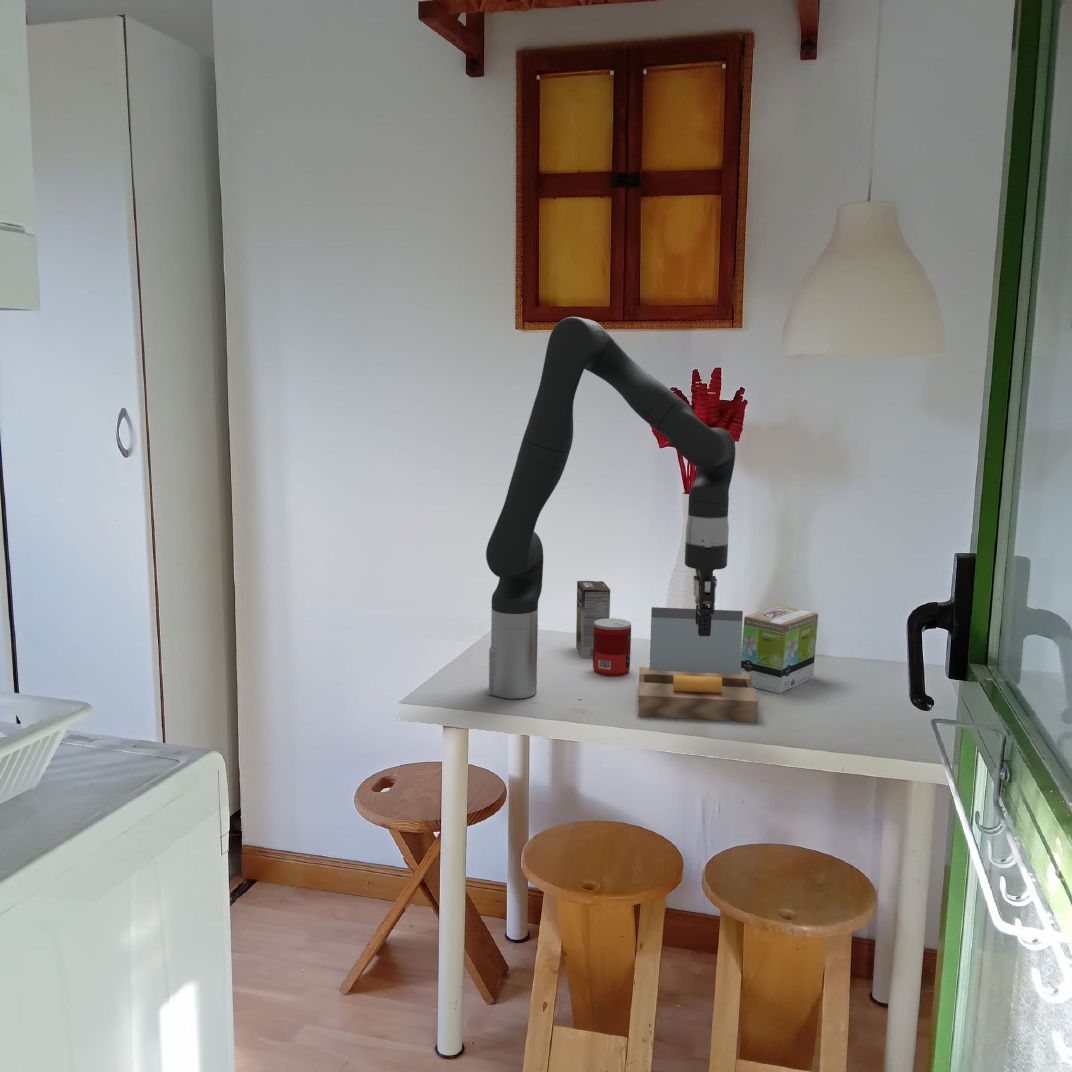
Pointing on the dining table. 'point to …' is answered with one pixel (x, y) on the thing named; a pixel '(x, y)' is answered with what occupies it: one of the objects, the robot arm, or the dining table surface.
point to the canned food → (611, 647)
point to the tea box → (779, 647)
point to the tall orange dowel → (697, 684)
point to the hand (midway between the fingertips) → (702, 629)
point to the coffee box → (590, 613)
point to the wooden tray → (697, 697)
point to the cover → (695, 642)
